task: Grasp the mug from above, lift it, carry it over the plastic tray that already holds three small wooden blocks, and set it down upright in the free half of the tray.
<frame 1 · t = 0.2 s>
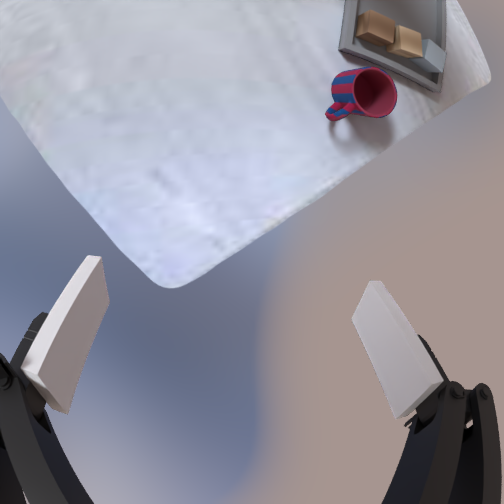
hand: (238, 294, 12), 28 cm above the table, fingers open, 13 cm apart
tray: (397, 15, 24), on the table
mug: (343, 96, 32), on the table
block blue: (420, 56, 27), point 1 cm above the table, touching tray
block beech: (396, 43, 26), point 1 cm above the table, touching tray
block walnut: (368, 31, 26), point 1 cm above the table, touching tray
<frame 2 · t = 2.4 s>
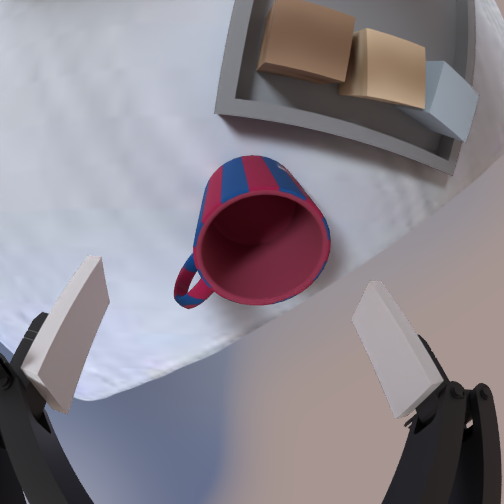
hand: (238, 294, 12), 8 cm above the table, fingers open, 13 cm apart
tray: (371, 5, 11), on the table
mug: (232, 213, 19), on the table
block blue: (421, 96, 14), point 1 cm above the table, touching tray
block beech: (365, 71, 14), point 1 cm above the table, touching tray
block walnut: (293, 49, 13), point 1 cm above the table, touching tray
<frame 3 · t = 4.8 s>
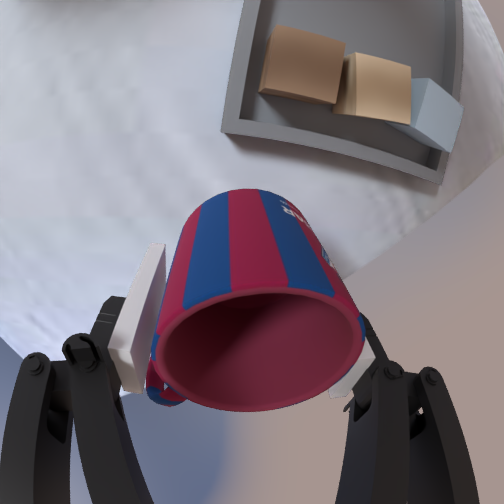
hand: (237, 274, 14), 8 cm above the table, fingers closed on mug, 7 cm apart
tray: (363, 26, 13), on the table
mug: (220, 267, 14), point 7 cm above the table, touching gripper
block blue: (410, 111, 16), point 1 cm above the table, touching tray
block beech: (357, 90, 16), point 1 cm above the table, touching tray
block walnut: (291, 72, 15), point 1 cm above the table, touching tray
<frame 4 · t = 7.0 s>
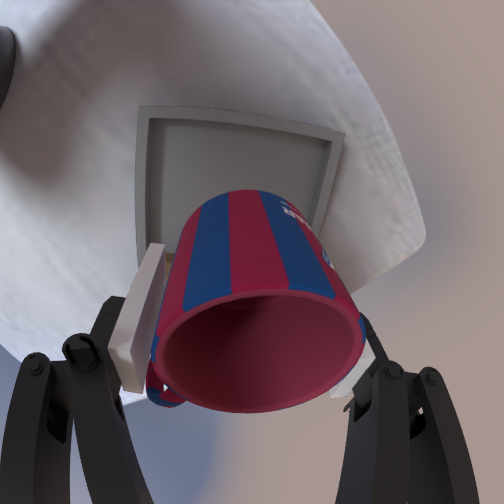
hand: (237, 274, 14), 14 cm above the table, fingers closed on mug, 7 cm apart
tray: (227, 221, 28), on the table
mug: (219, 268, 14), point 14 cm above the table, touching gripper
when the fingers open (2 cm above the table, at t = 9.4 s): mug drops 1 cm, resting on tray.
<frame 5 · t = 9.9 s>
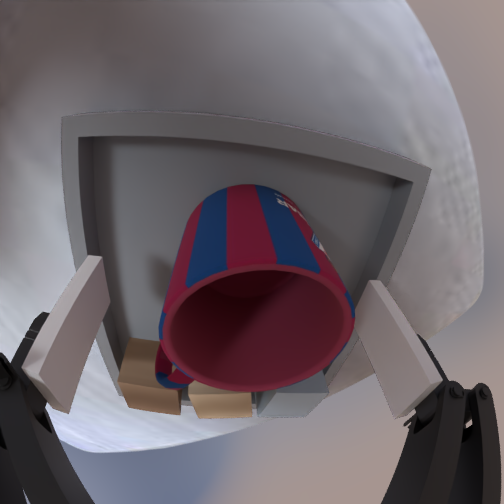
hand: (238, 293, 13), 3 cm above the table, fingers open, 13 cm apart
tray: (229, 301, 17), on the table
mug: (222, 259, 15), resting on tray
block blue: (284, 364, 20), point 1 cm above the table, touching tray
block beech: (221, 362, 20), point 1 cm above the table, touching tray
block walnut: (157, 356, 19), point 1 cm above the table, touching tray
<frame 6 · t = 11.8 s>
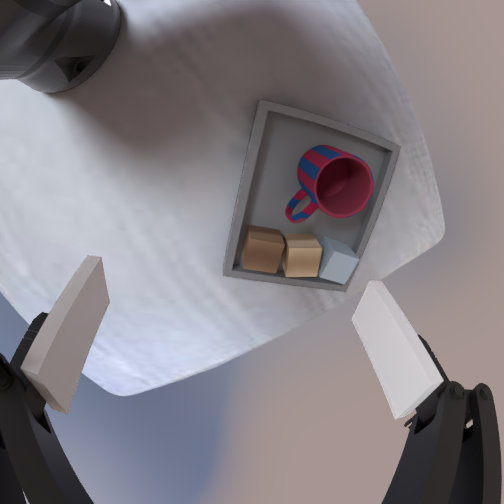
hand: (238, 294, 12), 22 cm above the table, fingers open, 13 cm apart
tray: (308, 203, 34), on the table
mug: (311, 178, 31), resting on tray
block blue: (330, 252, 37), point 1 cm above the table, touching tray
block beech: (296, 247, 36), point 1 cm above the table, touching tray
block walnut: (260, 241, 35), point 1 cm above the table, touching tray
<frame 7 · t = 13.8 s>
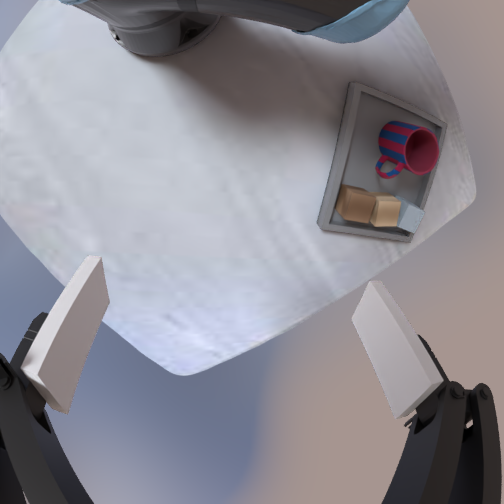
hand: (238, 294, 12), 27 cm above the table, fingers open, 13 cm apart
tray: (384, 167, 37), on the table
mug: (387, 146, 35), resting on tray
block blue: (399, 209, 40), point 1 cm above the table, touching tray
block beech: (376, 203, 39), point 1 cm above the table, touching tray
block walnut: (349, 198, 38), point 1 cm above the table, touching tray
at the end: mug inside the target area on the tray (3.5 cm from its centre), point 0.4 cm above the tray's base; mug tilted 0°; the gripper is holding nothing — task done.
